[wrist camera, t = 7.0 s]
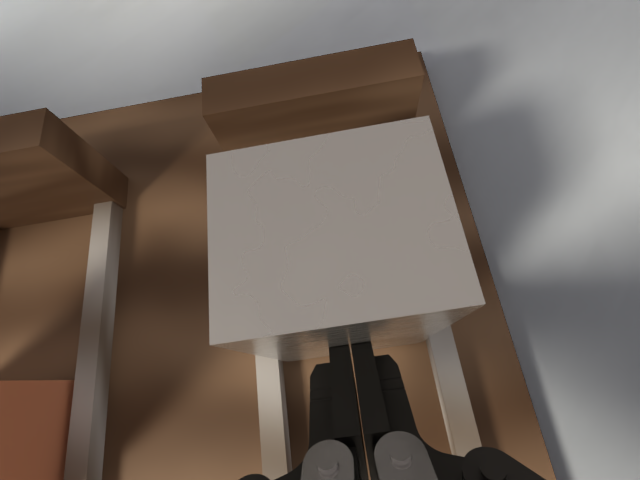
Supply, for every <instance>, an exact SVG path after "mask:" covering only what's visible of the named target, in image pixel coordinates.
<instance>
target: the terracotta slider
mask: <svg viewBox="0 0 640 480" xmlns="http://www.w3.org/2000/svg"><path fill="white" fill-rule="evenodd" d="M74 381H75V380H10V381H0V480H63V479H64V471H65V462H66V453H67V444H68V435H69V426H70V417H71V408H72V399H73V390H74Z"/></svg>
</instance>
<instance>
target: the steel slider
mask: <svg viewBox="0 0 640 480" xmlns="http://www.w3.org/2000/svg"><path fill="white" fill-rule="evenodd" d="M206 171H207V229H208V286H209V343H210V345H211V346H215V347H220V348H225V349H229V350H234V351H239V352H243V353H248V354H253V355H258V356H262V357H267V358H272V359H276V360H281V361H286V362H290V361H297V360H304V359H311V358H318V357H325V356H329V347H335V346H342V345H349V347H350V353H352V349H351V344H355V343H362V342H369V341H371V344H372V348H373V349H380V348H387V347H394V346H401V345H408V344H415V343H421V342H423V341H424V340H426V339H428V338H429V337H431V336H433V335H434V334H436V333H438V332H440V331H441V330H443V329H445V328H446V327H448V326H450V325H451V324H453V323H455V322H456V321H458V320H460V319H462V318H463V317H465V316H467V315H468V314H470V313H472V312H473V311H475V310H477V309H478V308H480V307H482V306H484V305H485V304H486V303H485V300H484V297H483V293H482V290H481V287H480V283H479V280H478V277H477V273H476V270H475V267H474V264H473V260H472V257H471V254H470V250H469V247H468V244H467V240H466V237H465V234H464V230H463V227H462V224H461V220H460V217H459V214H458V210H457V207H456V204H455V200H454V197H453V194H452V191H451V187H450V184H449V181H448V177H447V174H446V171H445V167H444V164H443V161H442V157H441V154H440V151H439V147H438V144H437V141H436V137H435V134H434V131H433V128H432V124H431V121H430V118H429V115H428V116H422V117H417V118H411V119H405V120H400V121H394V122H389V123H383V124H377V125H372V126H366V127H360V128H355V129H349V130H343V131H338V132H332V133H327V134H321V135H315V136H310V137H304V138H298V139H293V140H287V141H281V142H276V143H270V144H265V145H259V146H253V147H248V148H242V149H236V150H231V151H225V152H219V153H214V154H208V155H206Z"/></svg>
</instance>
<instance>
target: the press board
mask: <svg viewBox="0 0 640 480" xmlns="http://www.w3.org/2000/svg"><path fill="white" fill-rule="evenodd" d="M428 115H429V118H430V121H431V124H432V128H433V131H434V134H435V137H436V141H437V144H438V147H439V151H440V154H441V157H442V161H443V164H444V167H445V171H446V174H447V177H448V181H449V184H450V187H451V191H452V194H453V197H454V200H455V204H456V207H457V210H458V214H459V217H460V220H461V224H462V227H463V230H464V234H465V237H466V240H467V244H468V247H469V250H470V254H471V257H472V260H473V264H474V267H475V270H476V273H477V277H478V280H479V283H480V287H481V290H482V293H483V297H484V300H485V303H486V304H485V305H484V306H482V307H480V308H478V309H477V310H475V311H473V312H472V313H470V314H468V315H467V316H465V317H463V318H462V319H460V320H458V321H456V322H455V323H453V324H451V325H450V326H448V327H446V328H445V329H443V330H441V331H440V332H438V333H436V334H434V335H433V336H431V337H429V338H428V339H426V340H424V341H423V342H421V343H415V344H408V345H401V346H394V347H387V348H380V349H373V353H374V356H379V355H387V354H389V355H390V356H391V357H392V358H393V360H394V361H395V362H396V363H397V364H398V367H399V370H400V373H401V377H402V380H403V383H404V387H405V390H406V394H407V397H408V400H409V404H410V407H411V410H412V414H413V417H414V421H415V424H416V427H417V430H418V433H419V435H420V436H421V438H422V439H423V440H424V441H425V442H426V443H427V444H428V445H429V446H431V447H432V448H434V449H436V450H438V451H440V452H443V453H447V454H452V455H457V456H462V457H465V455H466V454H467V453H468V452H469V451H471V450H472V449H474V448H477V447H492V448H496V449H498V450H501V451H503V452H505V453H506V454H508V455H509V456H511V457H512V458H514V459H515V460H517V461H518V462H520V463H522V464H523V465H525V466H526V467H528V468H529V469H531V470H532V471H534V472H535V473H537V474H538V475H540V476H541V477H543V478H544V479H546V480H556V477H555V474H554V471H553V468H552V465H551V461H550V458H549V455H548V452H547V449H546V446H545V443H544V439H543V436H542V433H541V430H540V427H539V424H538V420H537V417H536V414H535V411H534V408H533V405H532V401H531V398H530V395H529V392H528V389H527V386H526V383H525V379H524V376H523V373H522V370H521V367H520V364H519V360H518V357H517V354H516V351H515V348H514V345H513V342H512V338H511V335H510V332H509V329H508V326H507V323H506V319H505V316H504V313H503V310H502V307H501V304H500V300H499V297H498V294H497V291H496V288H495V285H494V282H493V278H492V275H491V272H490V269H489V266H488V263H487V259H486V256H485V253H484V250H483V247H482V244H481V241H480V237H479V234H478V231H477V228H476V225H475V222H474V218H473V215H472V212H471V209H470V206H469V203H468V199H467V196H466V193H465V190H464V187H463V184H462V181H461V177H460V174H459V171H458V168H457V165H456V162H455V158H454V155H453V152H452V149H451V146H450V143H449V140H448V136H447V133H446V130H445V127H444V124H443V121H442V117H441V114H440V111H439V108H438V105H437V102H436V98H435V95H434V92H433V89H432V86H431V83H430V80H429V76H428V73H427V70H426V67H425V64H424V61H423V57H422V54H421V52H417V50H416V46H415V43H414V40H413V38H412V39H407V40H402V41H396V42H391V43H386V44H380V45H375V46H370V47H365V48H359V49H354V50H349V51H343V52H338V53H333V54H327V55H322V56H317V57H312V58H306V59H301V60H296V61H290V62H285V63H280V64H275V65H269V66H264V67H259V68H253V69H248V70H243V71H238V72H232V73H227V74H222V75H216V76H211V77H206V78H202V92H201V93H196V94H191V95H185V96H180V97H175V98H169V99H164V100H158V101H153V102H148V103H142V104H137V105H132V106H126V107H121V108H116V109H110V110H105V111H100V112H94V113H89V114H84V115H78V116H73V117H68V118H62V119H59V118H58V117H56V116H55V115H54V114H53V113H52V112H51V111H49V110H48V109H47V108H42V109H37V110H31V111H26V112H21V113H15V114H10V115H5V116H0V381H10V380H75V381H74V390H73V399H72V408H71V417H70V426H69V435H68V444H67V453H66V462H65V471H64V479H63V480H239V479H240V478H242V477H244V476H246V475H250V474H261V475H264V476H266V477H268V478H269V479H270V480H275V479H277V478H279V477H281V476H283V475H285V474H287V473H289V472H291V471H292V470H294V469H295V468H296V467H297V466H298V465H299V464H300V463H301V462H302V461H303V459H304V457H305V455H306V453H307V451H308V447H309V412H310V375H311V373H312V371H313V369H314V368H315V366H316V364H322V363H330V360H329V356H325V357H318V358H311V359H304V360H297V361H290V362H286V361H281V360H276V359H272V358H267V357H262V356H258V355H253V354H248V353H243V352H239V351H234V350H229V349H225V348H220V347H215V346H211V345H210V343H209V286H208V229H207V171H206V155H208V154H214V153H219V152H225V151H231V150H236V149H242V148H248V147H253V146H259V145H265V144H270V143H276V142H281V141H287V140H293V139H298V138H304V137H310V136H315V135H321V134H327V133H332V132H338V131H343V130H349V129H355V128H360V127H366V126H372V125H377V124H383V123H389V122H394V121H400V120H405V119H411V118H417V117H422V116H428ZM351 359H352V365H353V371H354V364H353V357H352V353H351ZM354 377H355V371H354ZM355 383H356V378H355ZM356 390H357V385H356ZM357 397H358V392H357ZM358 404H359V400H358ZM359 412H360V407H359ZM360 419H361V414H360ZM361 426H362V421H361ZM362 434H363V428H362ZM363 441H364V435H363ZM364 448H365V456H366V463H367V470H368V477H369V480H371V478H370V471H369V465H368V459H367V453H366V447H365V441H364Z"/></svg>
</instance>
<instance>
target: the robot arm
mask: <svg viewBox="0 0 640 480" xmlns="http://www.w3.org/2000/svg"><path fill="white" fill-rule="evenodd" d="M351 349H352V357H353V364H354V371H355V377H354V371H353V365H352V359H351V353H350V347H349V345H342V346H335V347H329V360H330V363H322V364H316V366H315V368H314V369H313V371H312V373H311V375H310V412H309V447H308V451H307V453H306V455H305V457H304V459H303V461H302V462H301V463H300V464H299V465H298V466H297V467H296V468H295V469H294V470H292V471H291V472H289V473H287V474H285V475H283V476H281V477H279V478H277V479H275V480H369V477H368V470H367V463H366V456H365V448H364V441H365V447H366V453H367V459H368V465H369V471H370V478H371V480H546V479H544V478H543V477H541V476H540V475H538V474H537V473H535V472H534V471H532V470H531V469H529V468H528V467H526V466H525V465H523V464H522V463H520V462H518V461H517V460H515V459H514V458H512V457H511V456H509V455H508V454H506V453H505V452H503V451H501V450H498V449H496V448H492V447H477V448H474V449H472V450H471V451H469V452H468V453H467V454H466V455H465V457H462V456H457V455H452V454H447V453H443V452H440V451H438V450H436V449H434V448H432V447H431V446H429V445H428V444H427V443H426V442H425V441H424V440H423V439H422V438H421V436H420V435H419V433H418V430H417V427H416V424H415V421H414V417H413V414H412V410H411V407H410V404H409V400H408V397H407V394H406V390H405V387H404V383H403V380H402V377H401V373H400V370H399V367H398V364H397V363H396V362H395V361H394V360H393V358H392V357H391V356H390V355H389V354H387V355H379V356H374V353H373V348H372V344H371V341H369V342H362V343H355V344H351ZM355 378H356V383H355ZM356 385H357V390H356ZM357 392H358V397H357ZM358 400H359V404H358ZM359 407H360V412H359ZM360 414H361V419H360ZM361 421H362V426H361ZM362 428H363V434H362ZM363 435H364V441H363ZM239 480H270V479H269V478H268V477H266V476H264V475H261V474H250V475H246V476H244V477H242V478H240V479H239Z"/></svg>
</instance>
